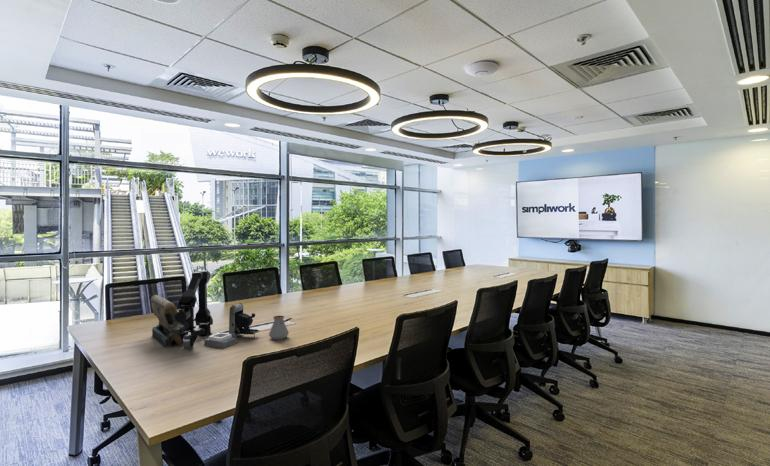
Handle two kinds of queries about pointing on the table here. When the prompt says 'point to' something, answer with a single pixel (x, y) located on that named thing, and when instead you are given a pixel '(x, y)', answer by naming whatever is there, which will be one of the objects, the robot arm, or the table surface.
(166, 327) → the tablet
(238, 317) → the vintage camera
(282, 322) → the coffee pot
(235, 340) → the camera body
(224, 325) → the table surface
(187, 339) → the lens
